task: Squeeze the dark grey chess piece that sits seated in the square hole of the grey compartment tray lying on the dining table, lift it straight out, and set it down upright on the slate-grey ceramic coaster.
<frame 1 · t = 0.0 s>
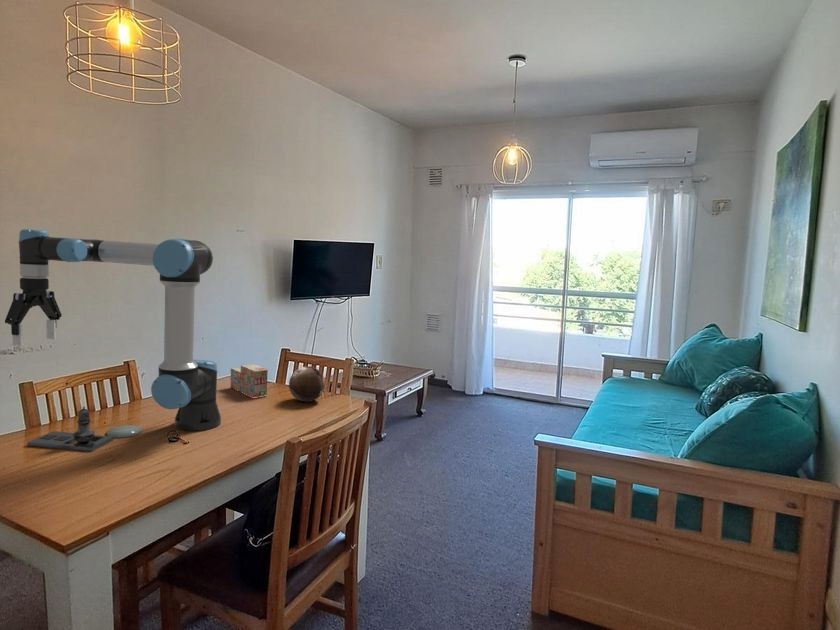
hand: (35, 341, 169), 28 cm above the table, fingers open, 13 cm apart
coaster: (124, 432, 170), on the table
dark grey chess piece: (84, 444, 158), resting in grey compartment tray
grey compartment tray: (71, 443, 158), on the table
stack of blocks: (248, 393, 227), on the table
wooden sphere: (306, 401, 220), on the table
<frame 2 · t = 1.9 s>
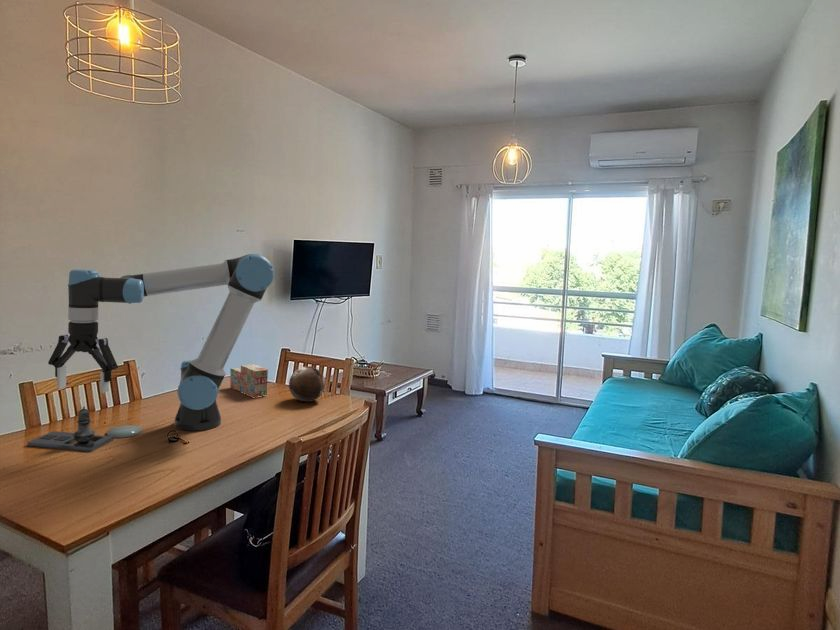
hand: (83, 390, 156), 17 cm above the table, fingers open, 13 cm apart
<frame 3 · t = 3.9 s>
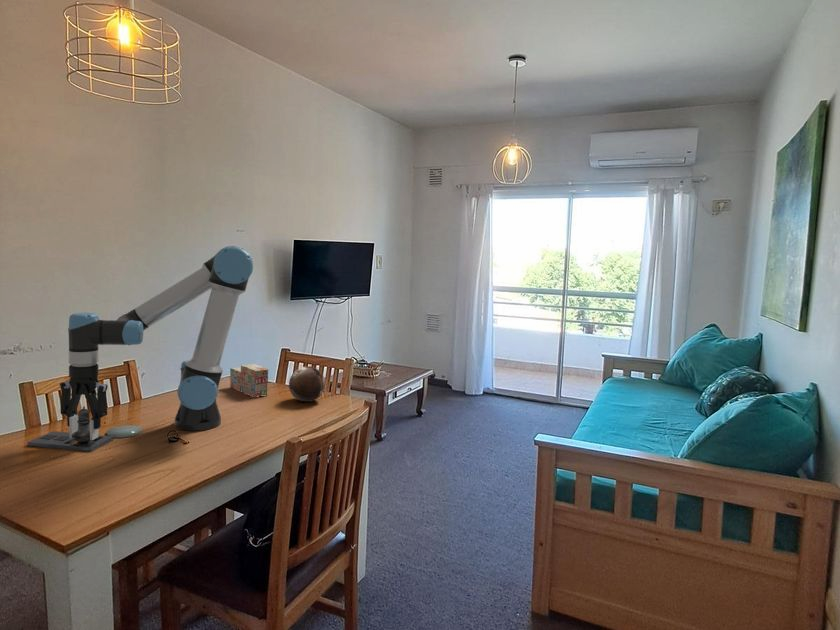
hand: (84, 437, 158), 2 cm above the table, fingers closed on dark grey chess piece, 6 cm apart
dark grey chess piece: (84, 444, 158), resting in grey compartment tray, touching gripper
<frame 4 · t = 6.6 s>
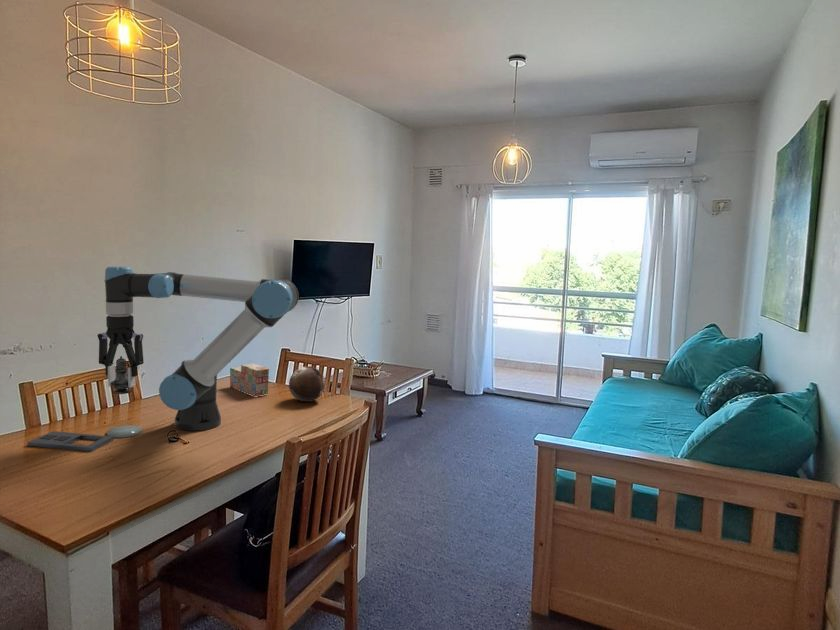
hand: (122, 385, 166), 16 cm above the table, fingers closed on dark grey chess piece, 6 cm apart
dark grey chess piece: (122, 392, 167), point 14 cm above the table, touching gripper
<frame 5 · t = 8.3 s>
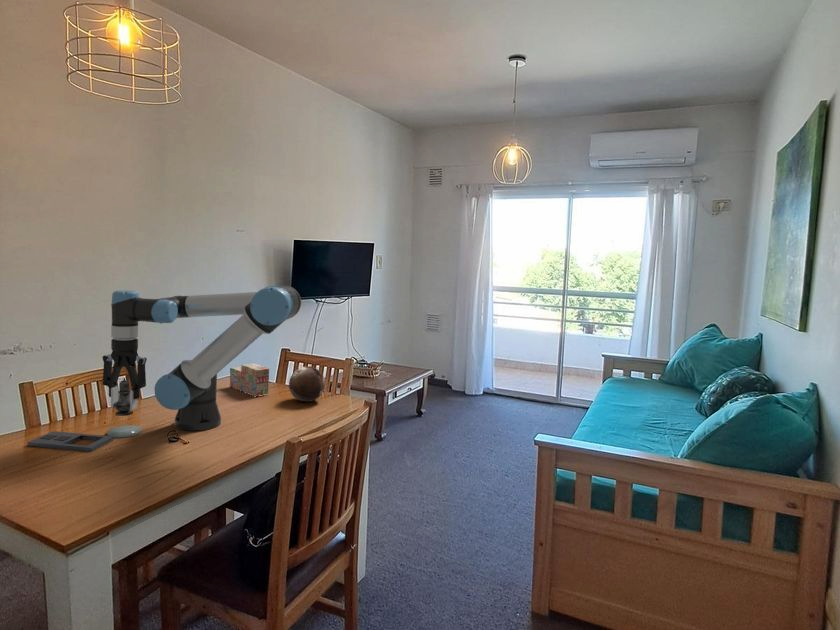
hand: (124, 407, 169), 9 cm above the table, fingers closed on dark grey chess piece, 6 cm apart
dark grey chess piece: (124, 414, 169), point 6 cm above the table, touching gripper
when the fingers open (4 cm above the table, at t = 9.5 s): dark grey chess piece drops 1 cm, resting on coaster.
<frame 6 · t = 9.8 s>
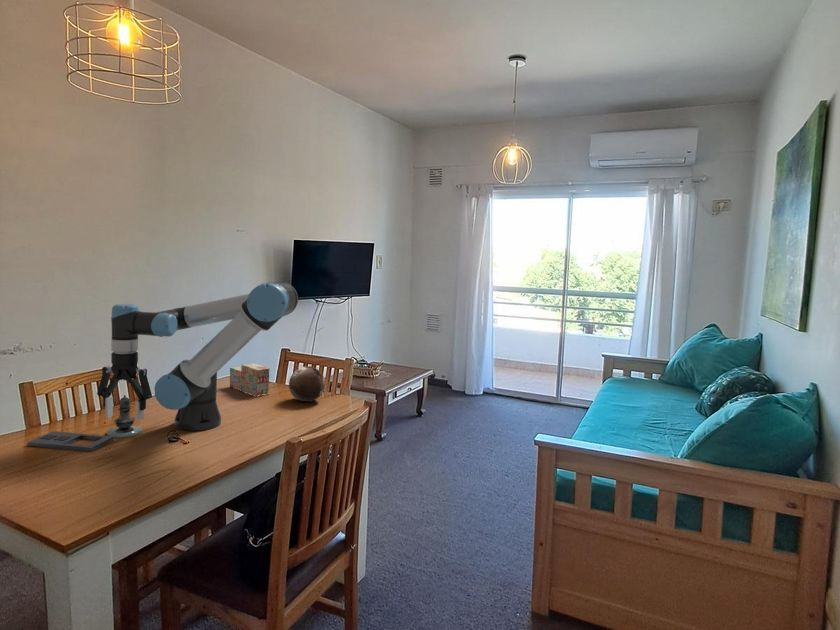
hand: (124, 418, 169), 5 cm above the table, fingers open, 10 cm apart
dark grey chess piece: (124, 430, 170), point 1 cm above the table, touching coaster
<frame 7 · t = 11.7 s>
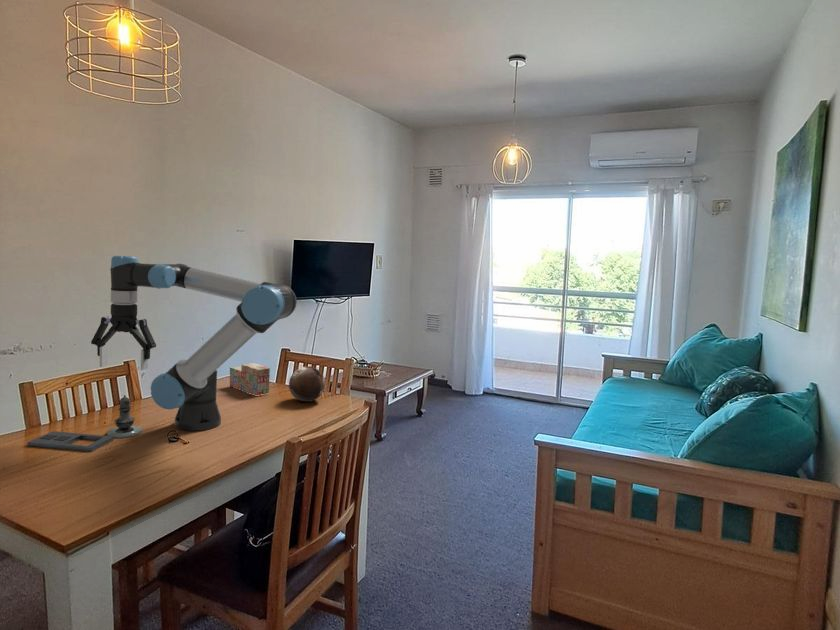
hand: (123, 367, 169), 22 cm above the table, fingers open, 13 cm apart
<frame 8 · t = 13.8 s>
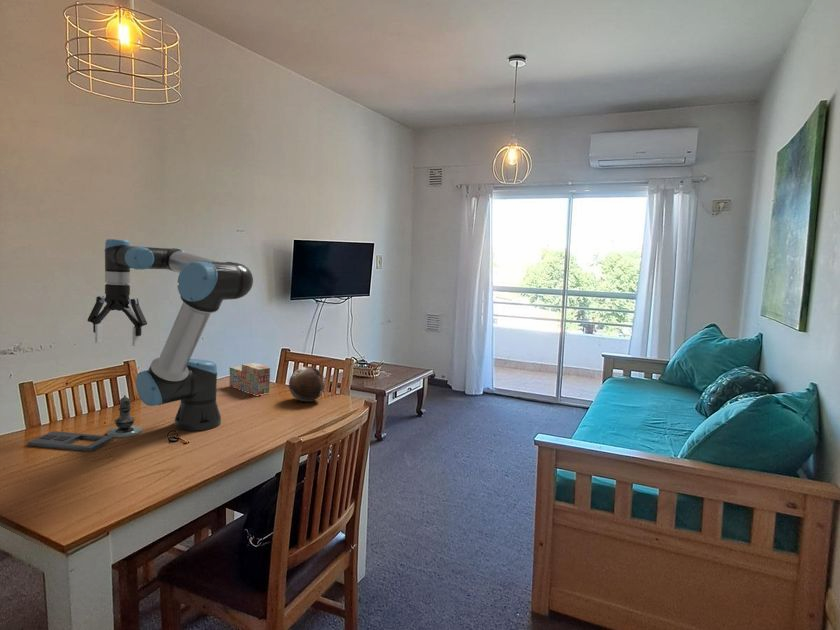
hand: (117, 343, 182), 27 cm above the table, fingers open, 13 cm apart
at the end: dark grey chess piece 0.1 cm from the coaster (horizontally); dark grey chess piece tilted 0°; dark grey chess piece touching coaster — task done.
